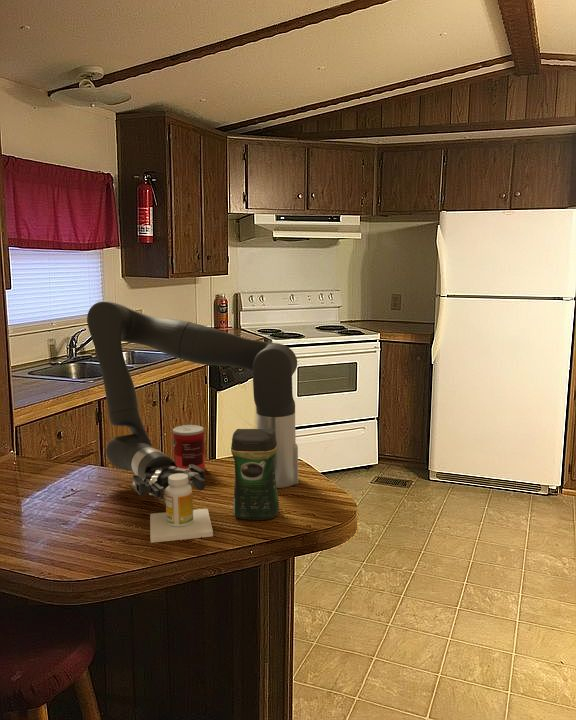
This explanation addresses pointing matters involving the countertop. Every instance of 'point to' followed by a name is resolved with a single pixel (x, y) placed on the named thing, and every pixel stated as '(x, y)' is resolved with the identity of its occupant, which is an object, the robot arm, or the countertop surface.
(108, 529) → the countertop surface
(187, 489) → the supplement bottle
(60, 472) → the countertop surface
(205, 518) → the bay plate
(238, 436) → the coffee jar
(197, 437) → the canned food
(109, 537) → the countertop surface
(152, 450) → the robot arm
